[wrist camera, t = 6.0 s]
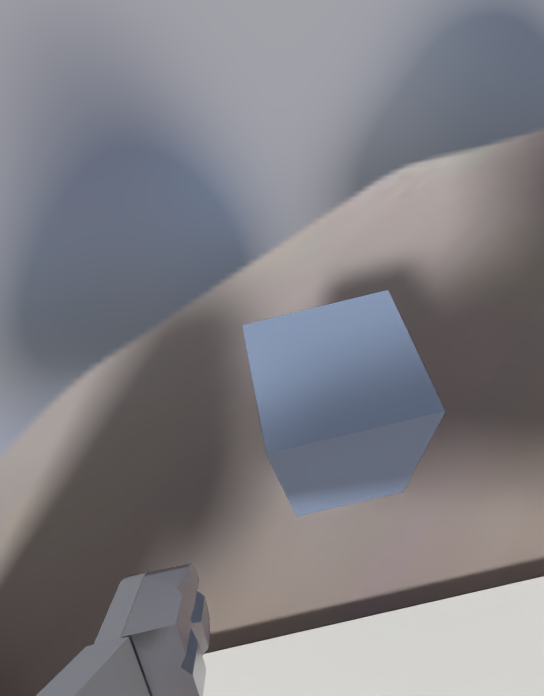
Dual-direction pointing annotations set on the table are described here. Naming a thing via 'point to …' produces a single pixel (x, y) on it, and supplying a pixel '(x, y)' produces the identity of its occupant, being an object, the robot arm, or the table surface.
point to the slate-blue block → (341, 401)
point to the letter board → (401, 652)
